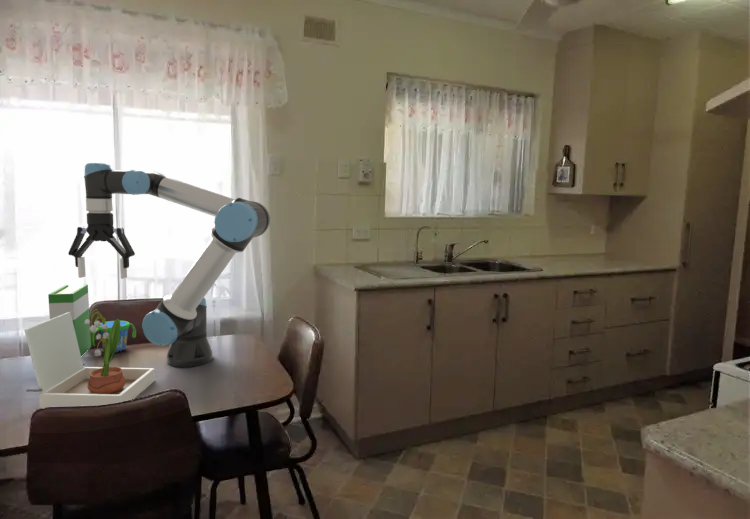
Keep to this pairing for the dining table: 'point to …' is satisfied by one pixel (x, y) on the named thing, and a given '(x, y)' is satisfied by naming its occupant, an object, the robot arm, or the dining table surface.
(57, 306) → the hardback book
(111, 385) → the potted flower
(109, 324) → the snack cup
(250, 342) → the dining table surface
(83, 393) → the white open hinged box
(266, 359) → the dining table surface
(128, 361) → the dining table surface
